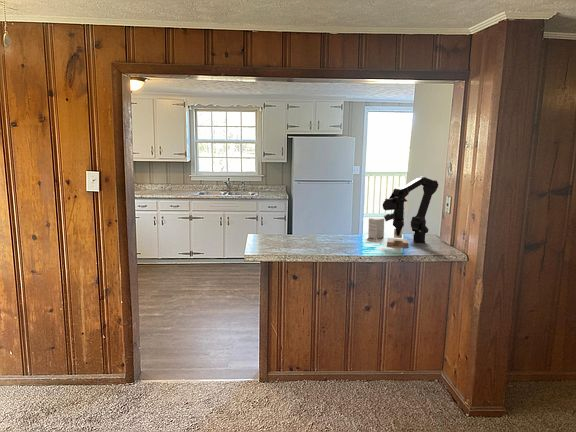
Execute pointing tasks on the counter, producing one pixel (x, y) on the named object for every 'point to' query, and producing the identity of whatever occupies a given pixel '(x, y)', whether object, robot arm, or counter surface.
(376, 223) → the supplement box
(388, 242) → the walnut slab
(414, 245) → the counter surface
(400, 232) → the maple cube
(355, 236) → the counter surface
